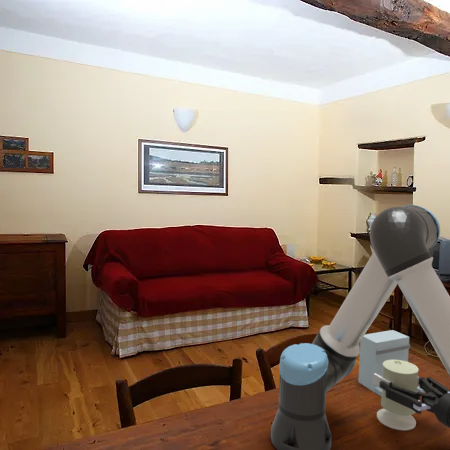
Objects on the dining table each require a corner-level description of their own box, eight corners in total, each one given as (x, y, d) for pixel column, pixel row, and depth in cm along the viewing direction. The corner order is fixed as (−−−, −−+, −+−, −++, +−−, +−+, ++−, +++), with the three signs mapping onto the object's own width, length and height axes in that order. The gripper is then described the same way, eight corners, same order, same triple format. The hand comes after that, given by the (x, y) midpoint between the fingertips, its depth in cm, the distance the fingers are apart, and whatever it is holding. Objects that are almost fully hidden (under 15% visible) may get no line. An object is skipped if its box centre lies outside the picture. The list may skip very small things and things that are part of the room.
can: (410, 398, 118) (412, 358, 117) (422, 416, 108) (424, 372, 107) (376, 397, 119) (378, 356, 117) (386, 414, 109) (388, 371, 108)
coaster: (391, 432, 108) (391, 430, 108) (369, 412, 118) (369, 410, 118) (424, 428, 111) (424, 425, 111) (400, 408, 120) (400, 406, 120)
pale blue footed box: (424, 393, 129) (427, 344, 127) (390, 402, 123) (393, 351, 122) (390, 374, 142) (392, 329, 140) (358, 382, 136) (360, 335, 134)
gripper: (426, 441, 93) (356, 395, 113) (489, 420, 101) (413, 380, 122) (427, 409, 92) (357, 368, 112) (491, 391, 101) (415, 356, 121)
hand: (386, 375), depth 117 cm, fingers closed on can, 9 cm apart
